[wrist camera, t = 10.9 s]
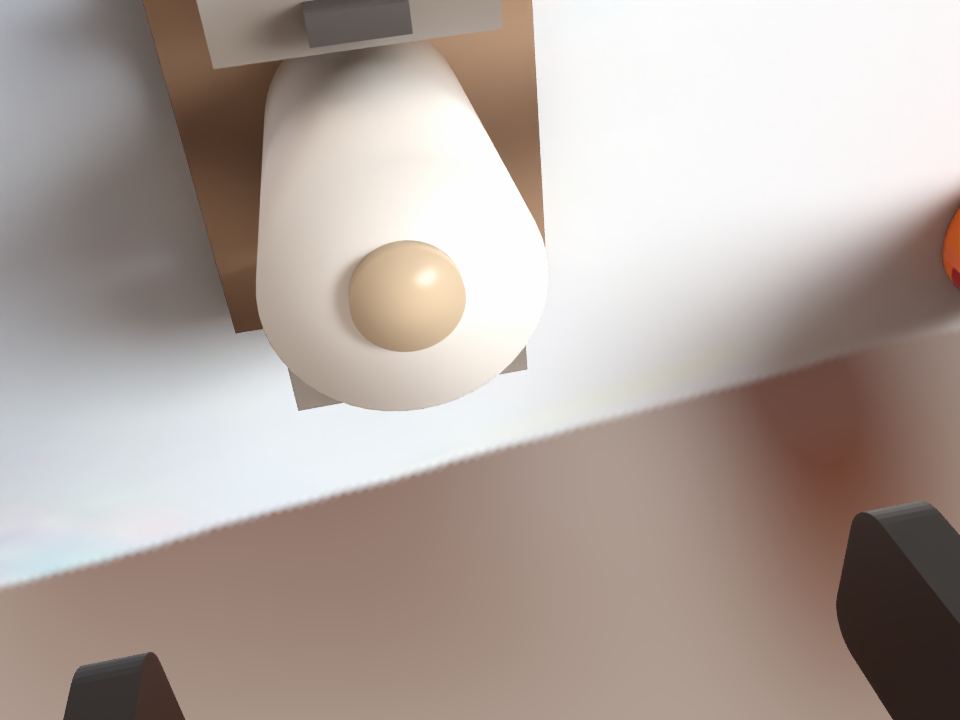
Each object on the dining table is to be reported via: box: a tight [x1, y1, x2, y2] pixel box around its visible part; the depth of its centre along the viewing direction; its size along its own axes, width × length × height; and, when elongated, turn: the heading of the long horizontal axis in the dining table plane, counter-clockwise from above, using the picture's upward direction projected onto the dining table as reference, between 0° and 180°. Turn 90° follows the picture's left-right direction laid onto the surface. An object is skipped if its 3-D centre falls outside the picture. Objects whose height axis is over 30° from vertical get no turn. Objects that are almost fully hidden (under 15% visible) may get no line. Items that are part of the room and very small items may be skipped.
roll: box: [256, 39, 548, 411], centre depth 22 cm, size 6×6×10 cm
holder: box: [143, 0, 545, 411], centre depth 24 cm, size 12×10×9 cm
